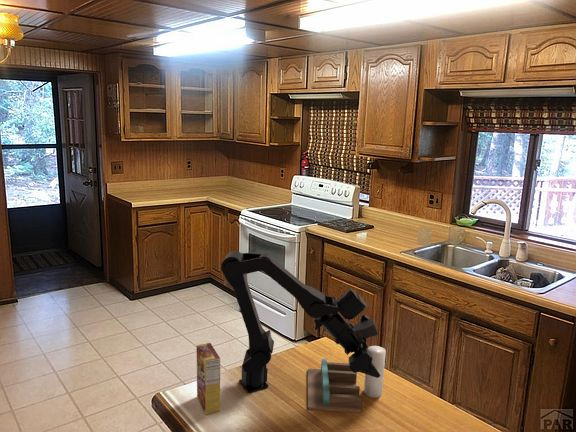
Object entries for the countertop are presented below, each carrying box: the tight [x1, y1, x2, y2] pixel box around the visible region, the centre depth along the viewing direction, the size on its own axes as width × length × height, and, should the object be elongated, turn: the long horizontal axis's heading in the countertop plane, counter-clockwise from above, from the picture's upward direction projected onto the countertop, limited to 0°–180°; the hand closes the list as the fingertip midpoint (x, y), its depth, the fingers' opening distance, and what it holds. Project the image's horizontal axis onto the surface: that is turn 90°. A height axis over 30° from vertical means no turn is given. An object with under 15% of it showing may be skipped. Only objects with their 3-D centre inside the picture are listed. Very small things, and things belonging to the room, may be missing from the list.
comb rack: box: [307, 358, 363, 414], centre depth 132 cm, size 20×14×5 cm
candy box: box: [196, 342, 221, 415], centre depth 122 cm, size 9×4×15 cm, turn 25°
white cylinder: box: [363, 345, 387, 398], centre depth 131 cm, size 5×5×13 cm
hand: (376, 368), depth 131 cm, fingers open, 9 cm apart
